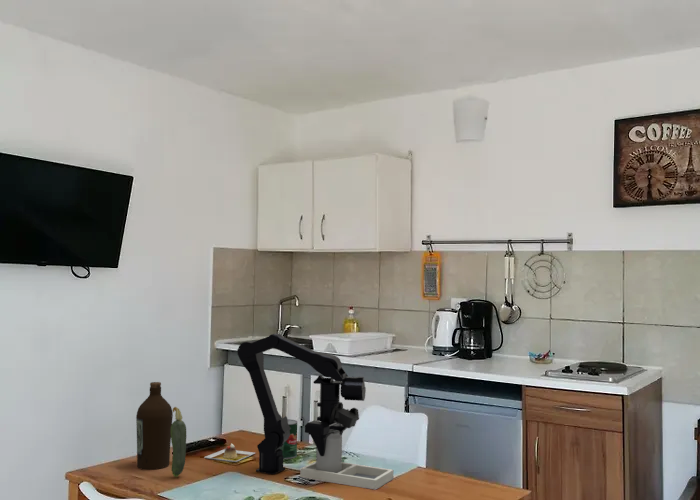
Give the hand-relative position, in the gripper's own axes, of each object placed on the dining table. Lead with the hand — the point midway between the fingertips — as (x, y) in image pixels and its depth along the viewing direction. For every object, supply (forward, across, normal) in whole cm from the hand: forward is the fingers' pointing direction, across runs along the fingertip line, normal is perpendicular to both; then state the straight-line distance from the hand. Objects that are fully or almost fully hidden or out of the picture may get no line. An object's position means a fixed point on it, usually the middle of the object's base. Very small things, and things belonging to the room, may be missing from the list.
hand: (328, 453), depth 195 cm
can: (+6, 0, 0) cm, 6 cm away
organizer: (+6, 0, -6) cm, 9 cm away
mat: (+6, 0, -12) cm, 13 cm away
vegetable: (+7, -24, +36) cm, 44 cm away
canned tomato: (+7, +12, +23) cm, 27 cm away
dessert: (+7, +2, +38) cm, 38 cm away
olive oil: (+7, -18, +51) cm, 54 cm away
